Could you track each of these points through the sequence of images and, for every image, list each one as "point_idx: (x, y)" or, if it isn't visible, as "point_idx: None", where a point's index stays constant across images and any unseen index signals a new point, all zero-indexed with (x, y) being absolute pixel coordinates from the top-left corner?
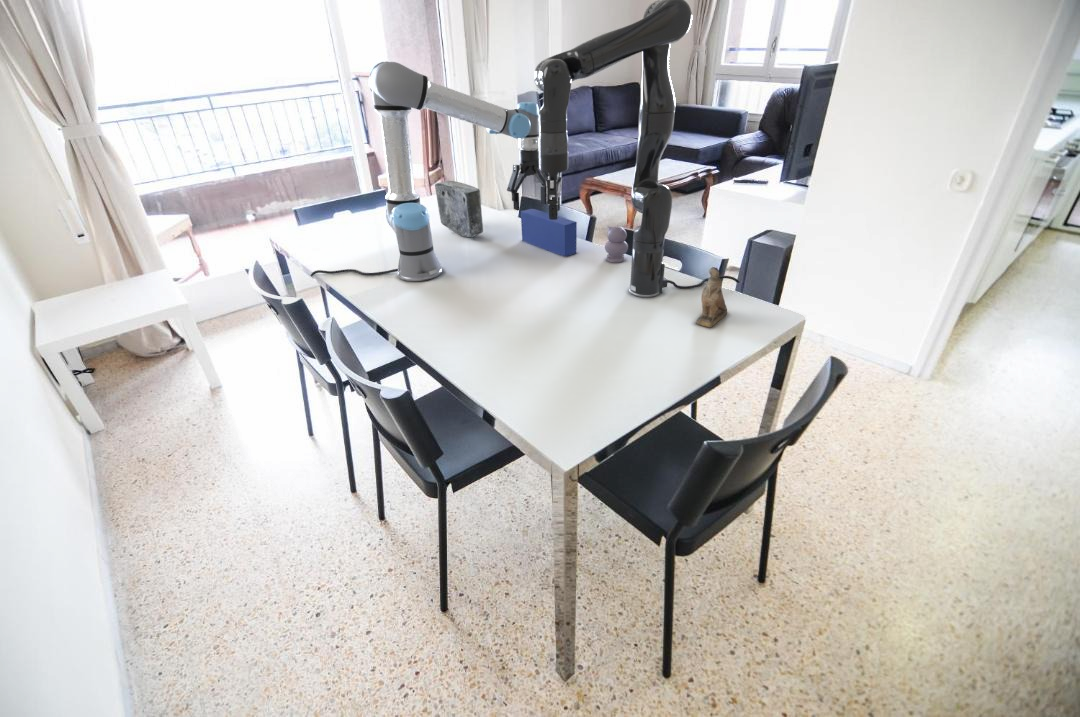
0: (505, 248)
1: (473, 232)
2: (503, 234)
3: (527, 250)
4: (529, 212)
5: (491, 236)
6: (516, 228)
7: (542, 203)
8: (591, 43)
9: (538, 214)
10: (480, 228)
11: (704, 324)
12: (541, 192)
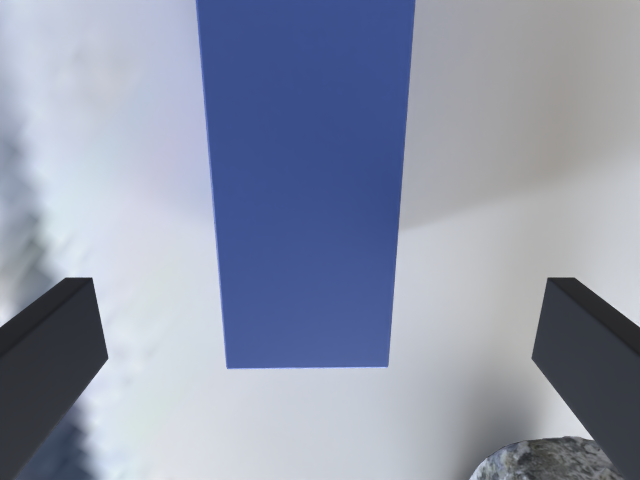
0: (526, 205)
1: (593, 448)
2: (355, 408)
3: (463, 62)
4: (353, 268)
5: (425, 422)
6: (233, 440)
7: (99, 330)
8: None
9: (335, 116)
10: (543, 462)
11: None
12: (4, 465)
